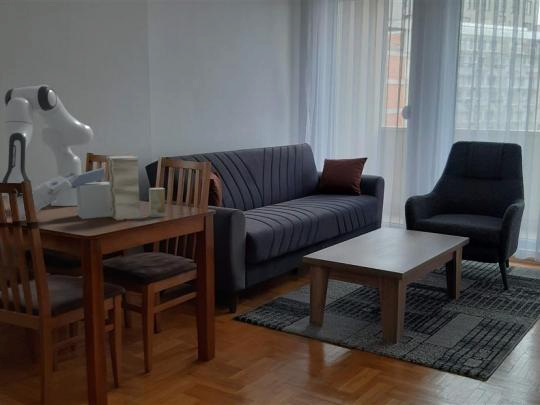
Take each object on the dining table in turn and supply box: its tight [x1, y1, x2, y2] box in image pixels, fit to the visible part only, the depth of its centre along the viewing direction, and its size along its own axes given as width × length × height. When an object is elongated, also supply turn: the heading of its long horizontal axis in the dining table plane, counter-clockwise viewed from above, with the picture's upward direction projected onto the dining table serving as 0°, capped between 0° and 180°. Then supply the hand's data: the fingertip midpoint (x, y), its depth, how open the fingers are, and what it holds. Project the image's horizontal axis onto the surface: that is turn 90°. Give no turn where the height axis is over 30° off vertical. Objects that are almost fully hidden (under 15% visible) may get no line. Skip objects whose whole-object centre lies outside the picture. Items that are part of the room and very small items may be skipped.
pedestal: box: [106, 155, 141, 221], centre depth 264 cm, size 11×11×26 cm
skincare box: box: [148, 187, 166, 218], centre depth 268 cm, size 6×4×12 cm
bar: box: [51, 167, 107, 188], centre depth 266 cm, size 4×22×4 cm, turn 117°
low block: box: [76, 181, 111, 220], centre depth 270 cm, size 10×14×14 cm
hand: (75, 174), depth 265 cm, fingers open, 7 cm apart
